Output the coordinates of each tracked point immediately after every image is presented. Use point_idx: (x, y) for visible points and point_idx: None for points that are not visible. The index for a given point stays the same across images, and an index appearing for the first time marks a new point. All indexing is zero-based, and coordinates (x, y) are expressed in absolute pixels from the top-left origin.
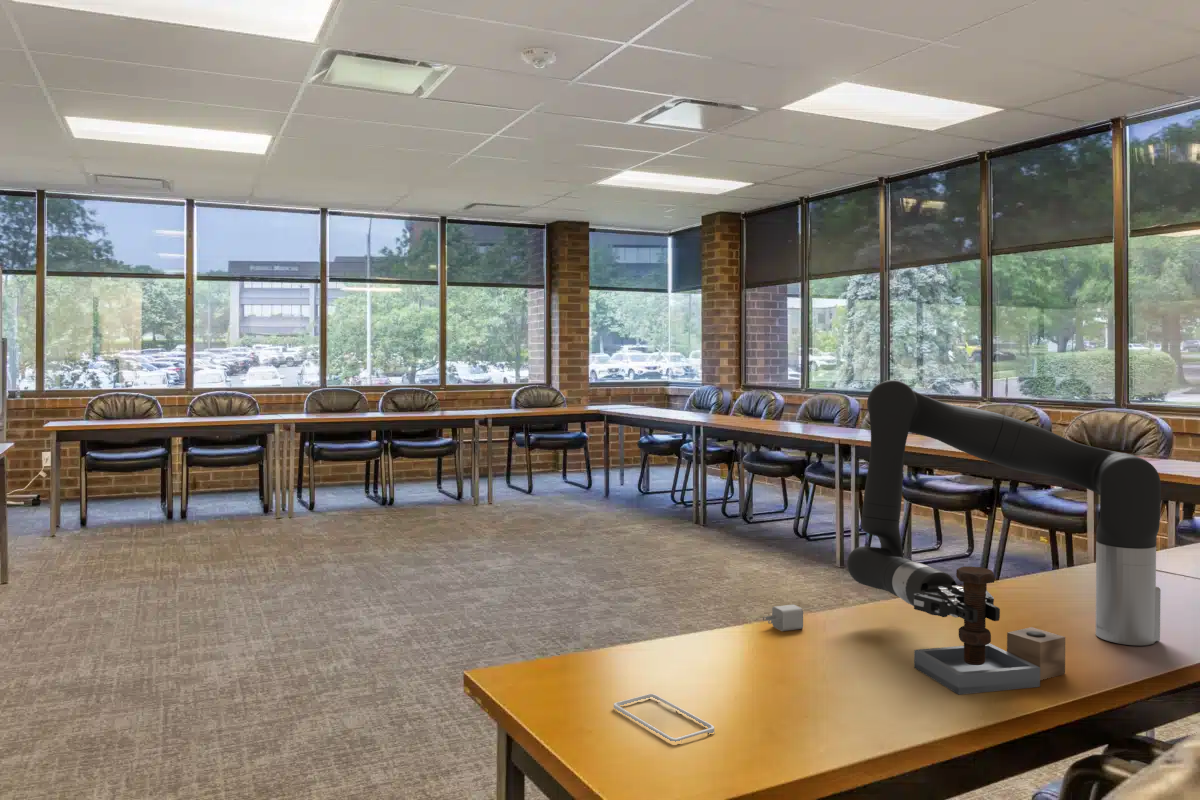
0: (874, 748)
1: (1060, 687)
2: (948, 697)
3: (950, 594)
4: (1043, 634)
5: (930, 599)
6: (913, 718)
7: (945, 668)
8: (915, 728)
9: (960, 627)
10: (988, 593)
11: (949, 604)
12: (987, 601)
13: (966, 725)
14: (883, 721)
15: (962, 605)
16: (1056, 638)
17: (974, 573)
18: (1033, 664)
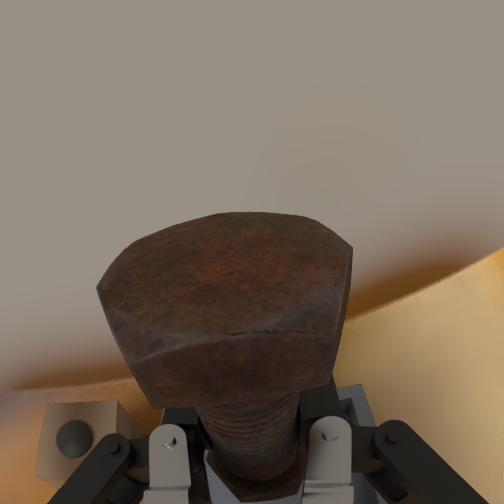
0: (464, 278)
1: (147, 408)
2: (376, 394)
3: (327, 497)
4: (65, 427)
5: (445, 465)
6: (436, 328)
7: (373, 422)
8: (435, 308)
9: (297, 477)
10: (63, 492)
11: (361, 440)
12: (139, 449)
13: (378, 316)
14: (466, 319)
15: (318, 396)
16: (67, 404)
17: (279, 214)
18: (162, 414)
